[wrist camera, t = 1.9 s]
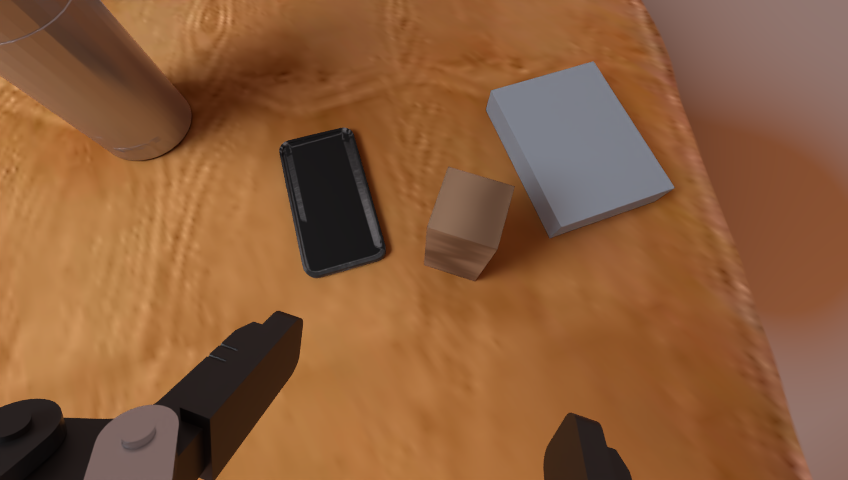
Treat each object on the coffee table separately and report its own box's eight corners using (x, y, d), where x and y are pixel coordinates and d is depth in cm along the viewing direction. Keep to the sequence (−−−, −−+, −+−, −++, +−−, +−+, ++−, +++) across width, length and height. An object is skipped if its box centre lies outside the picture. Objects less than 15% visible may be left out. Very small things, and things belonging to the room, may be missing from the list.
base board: (485, 109, 40) (491, 90, 37) (581, 81, 42) (593, 61, 39) (549, 238, 36) (561, 227, 33) (654, 201, 37) (674, 187, 34)
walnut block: (424, 264, 34) (427, 227, 25) (439, 218, 36) (448, 166, 27) (474, 281, 34) (497, 249, 25) (488, 233, 36) (514, 186, 26)
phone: (351, 125, 38) (388, 255, 34) (352, 131, 39) (389, 259, 35) (276, 143, 38) (304, 279, 33) (280, 149, 39) (307, 282, 34)
